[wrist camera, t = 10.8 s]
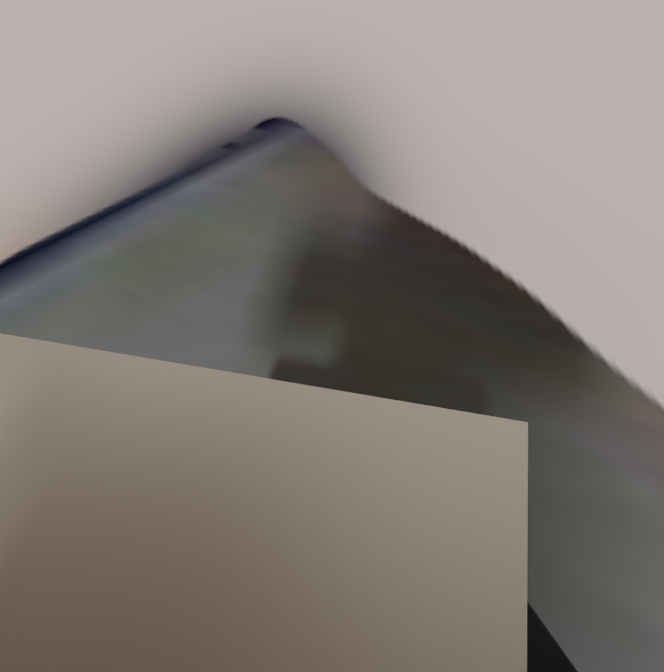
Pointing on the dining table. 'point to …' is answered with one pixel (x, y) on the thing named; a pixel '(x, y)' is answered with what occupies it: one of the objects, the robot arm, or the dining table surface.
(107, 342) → the dining table surface
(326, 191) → the dining table surface
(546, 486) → the dining table surface
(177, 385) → the cream block
